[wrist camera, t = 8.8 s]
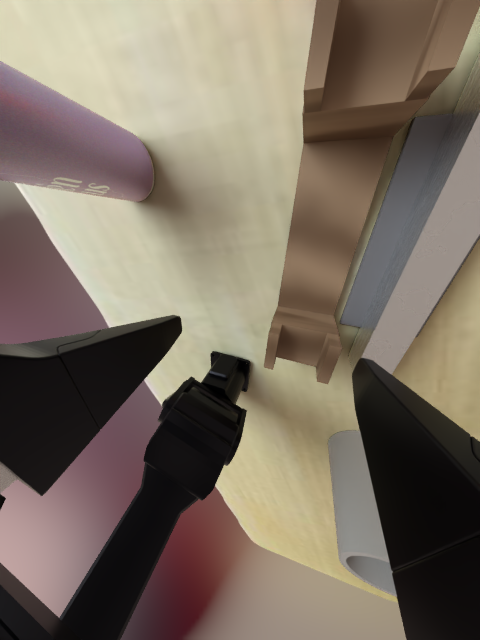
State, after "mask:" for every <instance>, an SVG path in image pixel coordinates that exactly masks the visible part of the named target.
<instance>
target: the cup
mask: <svg viewBox="0 0 480 640" xmlns="http://www.w3.org/2000/svg"><path fill="white" fill-rule="evenodd" d="M328 450H329V460H330V471H331V481H332V492H333V502H334V512H335V523H336V533H337V543H338V554H339V560H340V562H341V563H342V565H343V566H344V567H345V568H346V569H347V570H348V571H349V572H351V573H352V574H353V575H355V576H356V577H358V578H359V579H361V580H363V581H364V582H366V583H368V584H370V585H371V586H373V587H375V588H377V589H379V590H382V591H384V592H386V593H388V594H391V595H393V596H396V597H397V595H396V590H395V586H394V581H393V577H392V570H391V567H390V563H389V558H388V554H387V549H386V545H385V540H384V536H383V531H382V527H381V522H380V518H379V514H378V509H377V505H376V500H375V496H374V491H373V487H372V482H371V478H370V473H369V469H368V464H367V460H366V456H365V451H364V447H363V442H362V438H361V433H360V431H357V430H348V431H341V432H338V433H335V434H334V435H333V436H331V437H330V439H329V441H328Z"/></svg>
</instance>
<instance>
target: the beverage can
mask: <svg viewBox="0 0 480 640" xmlns="http://www.w3.org/2000/svg"><path fill="white" fill-rule="evenodd" d="M0 180H2V181H8V182H14V183H21V184H27V185H33V186H39V187H46V188H52V189H58V190H65V191H71V192H77V193H83V194H90V195H96V196H102V197H109V198H115V199H121V200H128V201H134V202H139V201H142V200H144V199H145V198H146V197H148V196H149V194H150V193H151V191H152V189H153V186H154V167H153V163H152V160H151V157H150V155H149V153H148V151H147V149H146V148H145V146H144V144H143V143H142V142H141V140H140V139H139V138H138V137H137V136H136V135H134V134H133V133H131V132H129V131H127V130H125V129H124V128H122V127H120V126H118V125H116V124H114V123H113V122H111V121H109V120H107V119H105V118H104V117H102V116H100V115H98V114H96V113H94V112H93V111H91V110H89V109H87V108H85V107H83V106H82V105H80V104H78V103H76V102H74V101H72V100H71V99H69V98H67V97H65V96H63V95H62V94H60V93H58V92H56V91H54V90H52V89H51V88H49V87H47V86H45V85H43V84H41V83H40V82H38V81H36V80H34V79H32V78H30V77H29V76H27V75H25V74H23V73H21V72H20V71H18V70H16V69H14V68H12V67H10V66H9V65H7V64H5V63H3V62H1V61H0Z"/></svg>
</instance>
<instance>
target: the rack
mask: <svg viewBox="0 0 480 640" xmlns="http://www.w3.org/2000/svg"><path fill="white" fill-rule="evenodd" d="M479 7H480V0H317V2H316V9H315V16H314V23H313V30H312V37H311V43H310V50H309V57H308V64H307V71H306V78H305V85H304V107H303V138H304V144H303V151H302V157H301V163H300V170H299V176H298V182H297V188H296V195H295V201H294V207H293V214H292V220H291V226H290V232H289V239H288V245H287V251H286V257H285V264H284V270H283V276H282V283H281V289H280V295H279V301H278V307H277V309H276V312H275V315H274V317H273V320H272V323H271V328H270V331H269V335H268V342H267V349H266V356H265V363H264V367H265V368H268V369H272V370H273V368H274V364H275V359H276V357H278V358H282V359H287V360H291V361H295V362H299V363H303V364H307V365H311V366H315V367H316V372H317V382H321V383H325V384H328V383H329V380H330V378H331V375H332V373H333V370H334V368H335V365H336V363H337V360H338V358H339V355H340V353H341V350H342V346H341V342H340V339H339V336H340V335H339V332H338V328H337V325H336V322H335V318H334V313H335V310H336V307H337V304H338V301H339V298H340V295H341V292H342V289H343V286H344V283H345V280H346V277H347V274H348V271H349V268H350V265H351V262H352V259H353V256H354V253H355V250H356V247H357V244H358V241H359V238H360V235H361V232H362V229H363V226H364V223H365V220H366V217H367V214H368V211H369V208H370V205H371V202H372V199H373V196H374V193H375V190H376V187H377V184H378V181H379V178H380V175H381V172H382V169H383V166H384V163H385V160H386V157H387V154H388V151H389V148H390V145H391V142H392V139H393V136H394V135H395V134H396V133H397V132H398V131H399V130H400V129H401V128H402V127H403V126H404V124H405V123H406V122H407V121H408V120H409V119H410V118H411V117H412V116H413V115H414V114H415V113H416V112H417V111H418V109H419V108H420V107H421V106H422V105H423V104H424V103H425V102H426V101H427V100H428V99H429V97H430V94H431V93H432V92H433V91H434V90H435V89H436V88H437V86H438V85H439V84H440V83H441V82H442V81H443V80H444V79H445V78H446V77H447V76H448V74H449V73H450V72H451V71H452V70H453V69H454V68H455V66H456V64H457V61H458V59H459V56H460V54H461V51H462V49H463V46H464V44H465V41H466V39H467V36H468V34H469V32H470V29H471V27H472V24H473V22H474V19H475V17H476V14H477V12H478V9H479Z"/></svg>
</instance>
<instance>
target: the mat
mask: <svg viewBox="0 0 480 640" xmlns="http://www.w3.org/2000/svg"><path fill="white" fill-rule="evenodd" d="M452 115H453V113H452V114H442V115H431V116H421V117H415V118H414V119H413V120H412V123H411V126H410V128H409V131H408V134H407V137H406V139H405V142H404V145H403V148H402V151H401V153H400V156H399V159H398V162H397V164H396V167H395V170H394V173H393V175H392V178H391V181H390V184H389V187H388V189H387V192H386V195H385V198H384V200H383V203H382V206H381V209H380V212H379V214H378V217H377V220H376V223H375V225H374V228H373V231H372V234H371V237H370V239H369V242H368V245H367V248H366V250H365V253H364V256H363V259H362V262H361V264H360V267H359V270H358V273H357V275H356V278H355V281H354V284H353V286H352V289H351V292H350V295H349V298H348V300H347V303H346V306H345V309H344V311H343V314H342V317H341V320H340V324H345V325H351V326H356V327H361V325H362V322H363V320H364V318H365V315H366V313H367V311H368V309H369V306H370V304H371V302H372V299H373V297H374V295H375V292H376V290H377V288H378V285H379V283H380V281H381V279H382V276H383V274H384V272H385V269H386V267H387V265H388V262H389V260H390V258H391V255H392V253H393V251H394V249H395V246H396V244H397V242H398V239H399V237H400V235H401V232H402V230H403V228H404V225H405V223H406V221H407V219H408V216H409V214H410V212H411V209H412V207H413V205H414V202H415V200H416V198H417V195H418V193H419V191H420V189H421V186H422V184H423V182H424V179H425V177H426V175H427V172H428V170H429V168H430V165H431V163H432V161H433V159H434V156H435V154H436V152H437V149H438V147H439V145H440V142H441V140H442V138H443V136H444V133H445V131H446V129H447V126H448V124H449V122H450V119H451V117H452ZM479 238H480V235H479V236H478V238H477V239H476V241H475V243H474V244H473V246H472V247H471V249H470V250H469V252H468V254H467V255H466V257H465V258H464V260H463V262H462V263H461V265H460V266H459V268H458V270H457V271H456V273H455V274H454V276H453V278H452V279H451V281H450V282H449V284H448V286H447V287H446V289H445V290H444V292H443V294H442V295H441V297H440V298H439V300H438V302H437V303H436V305H435V306H434V308H433V309H432V311H431V313H430V314H429V316H428V317H427V319H426V321H425V322H424V324H423V325H422V327H421V329H420V330H419V332H418V333H417V335H416V337H417V336H418V335H419V333H420V332H421V330H422V328H423V327H424V325H425V324H426V322H427V320H428V319H429V317H430V316H431V314H432V313H433V311H434V309H435V308H436V306H437V305H438V303H439V301H440V300H441V298H442V297H443V295H444V294H445V292H446V290H447V289H448V287H449V286H450V284H451V282H452V281H453V279H454V278H455V276H456V275H457V273H458V271H459V270H460V268H461V267H462V265H463V263H464V262H465V260H466V259H467V257H468V256H469V254H470V252H471V251H472V249H473V248H474V246H475V244H476V243H477V241H478V240H479Z"/></svg>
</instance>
